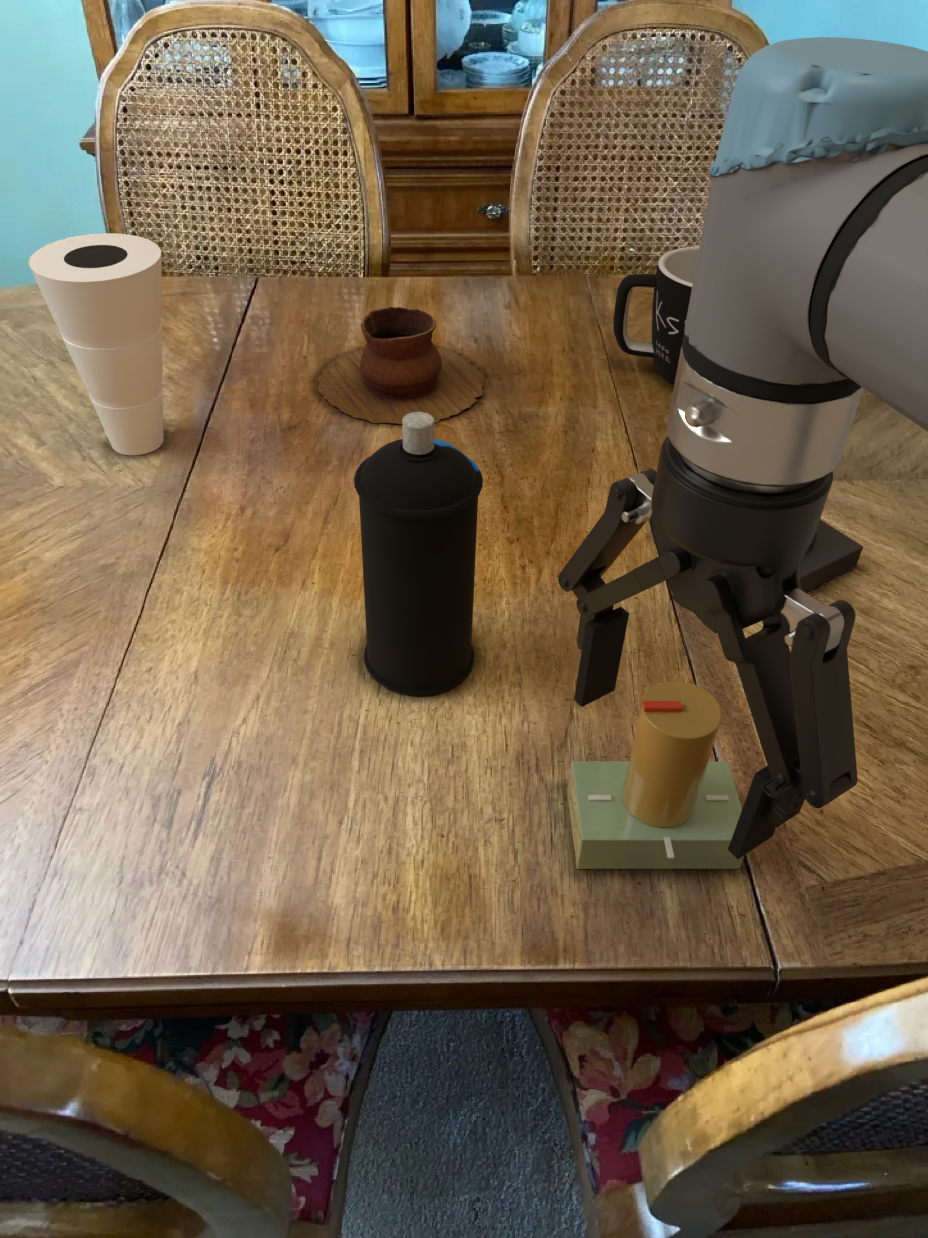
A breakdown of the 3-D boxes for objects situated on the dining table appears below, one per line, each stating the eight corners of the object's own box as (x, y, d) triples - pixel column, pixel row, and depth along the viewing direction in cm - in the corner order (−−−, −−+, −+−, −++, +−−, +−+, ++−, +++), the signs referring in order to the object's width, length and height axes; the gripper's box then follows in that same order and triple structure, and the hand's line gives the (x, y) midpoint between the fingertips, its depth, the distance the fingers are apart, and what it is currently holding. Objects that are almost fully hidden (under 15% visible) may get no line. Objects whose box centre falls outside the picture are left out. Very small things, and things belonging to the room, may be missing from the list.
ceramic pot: (303, 420, 97) (296, 355, 92) (332, 341, 110) (328, 281, 106) (481, 430, 96) (484, 365, 92) (488, 350, 110) (491, 289, 105)
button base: (856, 567, 81) (870, 528, 79) (775, 608, 77) (787, 569, 74) (759, 503, 88) (769, 466, 85) (679, 538, 84) (687, 500, 81)
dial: (687, 770, 60) (713, 676, 55) (701, 828, 57) (731, 734, 52) (617, 770, 60) (636, 676, 55) (627, 828, 57) (649, 734, 51)
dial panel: (714, 775, 64) (724, 743, 62) (745, 888, 58) (757, 857, 55) (564, 774, 64) (569, 743, 62) (578, 888, 57) (584, 857, 55)
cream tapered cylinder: (66, 431, 94) (14, 246, 82) (172, 404, 99) (137, 225, 87) (99, 484, 87) (48, 291, 76) (210, 452, 92) (179, 266, 80)
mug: (593, 360, 108) (606, 254, 100) (697, 329, 115) (717, 227, 107) (693, 424, 98) (717, 312, 90) (801, 386, 105) (832, 278, 97)
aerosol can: (435, 713, 67) (438, 470, 54) (341, 668, 71) (322, 428, 57) (494, 646, 73) (510, 410, 60) (404, 607, 76) (400, 374, 63)
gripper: (514, 358, 48) (493, 663, 62) (937, 642, 33) (783, 959, 47) (627, 324, 51) (582, 622, 66) (1059, 570, 36) (880, 887, 51)
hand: (666, 764), depth 57 cm, fingers open, 12 cm apart
